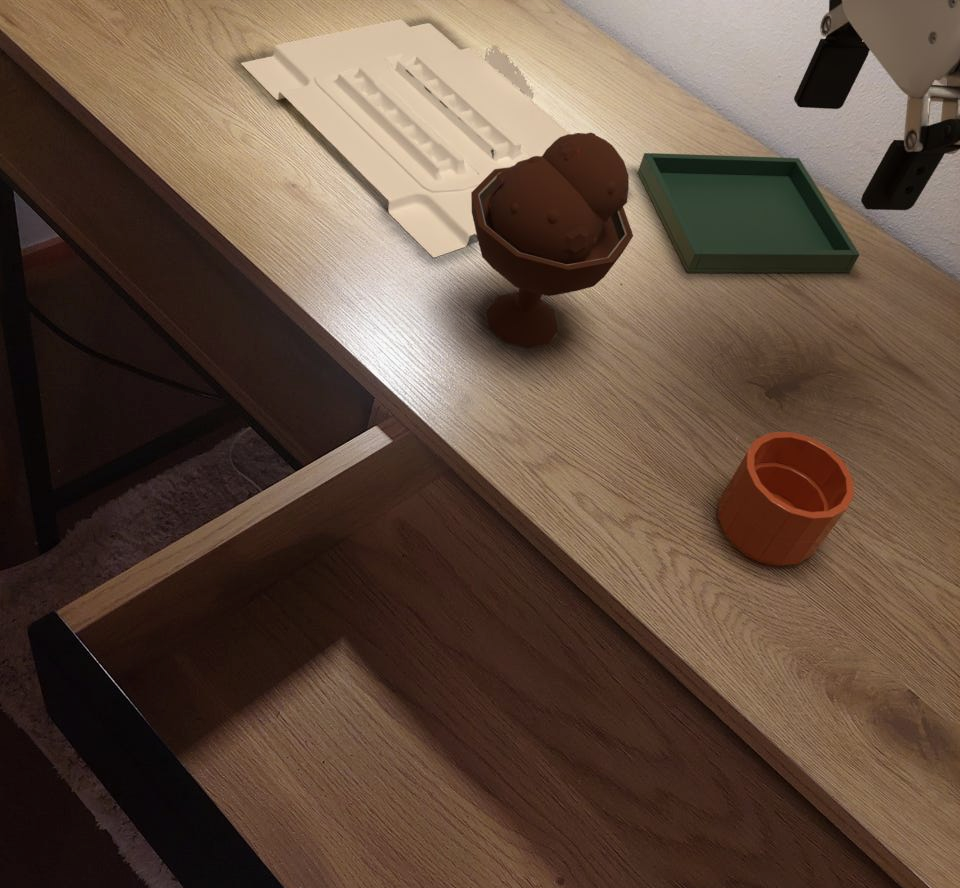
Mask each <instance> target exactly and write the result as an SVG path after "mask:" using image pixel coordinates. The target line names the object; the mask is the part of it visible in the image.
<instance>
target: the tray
mask: <svg viewBox="0 0 960 888" xmlns="http://www.w3.org/2000/svg"><path fill="white" fill-rule="evenodd" d="M500 49H501V48H500V47H499V46H498V45H497V44H495V45H494V44H493V45H491V47H490V48H486V49H485V55H484V57H483V53H481V55H480V54H479V53H478V52H477V51H476V50H475V49H473V47H466V48H462V49H460V48H459V47H458V46H456V45H455V43H453V42H452V41H450V40H449V38H447V37H446V36H445V35H444V34H443V33H442V32H441V31H439V30H438V29H437V28H436V27H435V26H433V24H432V23H430V22H426V23H422V24H418V25H413V26H409V24H407V23H406V22H405V21H404V20H403V19H401V18H399V19H394V20H390V21H384V22H380V23H375V24H371V25H366V26H365V25H364V26H361V27H360V26H359V27H356V28H351V29H346V30H342V31H337V32H336V31H335V32H331V33H327V34H321V35H317V36H313V37H306V38H303V39H298V40H293V41H287V42H283V43H279V44H275V46H274V48H273V53H272V55H271V56H267V57H262V58H257V59H253V60H248V61H244V62H240V64H241V66H243V68H244V69H246V71H247V72H249V74H251V76H253V77H254V79H255V80H256V81H257V82H258V83H259V84H260V85H261V86H262V87H263V88H264V89H265V90H266V91H267V92H268V93H269V94H270V95H271V96H272V97H273V98H274V99H275V100H276V101H278V100H283V99H287V101H288V102H289V103H290V104H291V105H292V106H293V107H294V108H295V109H296V110H297V111H298V112H299V113H300V114H302V116H303V117H304V118H305V119H306V120H307V121H308V122H309V123H310V125H313V126H314V128H315V129H316V130H317V131H318V132H320V134H321V135H322V136H323V137H324V138H325V139H326V140H327V141H328V142H330V144H331V145H332V146H334V148H335V149H336V150H337V151H338V152H339V153H340V154H342V156H343V157H344V158H345V159H346V160H347V161H348V162H349V163H350V164H351V165H352V166H353V167H355V169H356V170H357V171H358V172H359V173H360V174H361V175H362V176H363V177H364V178H365V179H366V180H367V181H368V182H369V183H370V184H371V185H372V186H373V187H374V188H375V189H376V190H377V191H378V192H380V194H381V195H382V196H384V197H385V199H386V200H388V207H387V208H388V209H387V210H388V213H389V215H390V216H391V217H392V218H393V219H394V220H395V221H396V222H397V223H398V224H399V226H401V228H403V230H405V231H406V232H407V233H408V234H409V235H410V236H411V237H412V238H413V239H414V240H415V241H416V242H417V243H418V244H419V245H420V246H421V247H422V248H423V249H424V250H425V251H426V252H427V253H428V254H429V255H430V256H431V257H432V258H437V257H440V256H443V255H446V254H447V253H452V252H454V251H458V250H460V249H464V248H466V247H467V246H468V244H469V240H470V237H471V236H473V235H477V234H476V229H475V225H474V220H473V216H472V202H471V192H472V191H473V190H474V189H475V188H476V187H477V186H478V185H479V184H480V183H481V182H482V181H483V180H484V179H485V178H486V177H487V176H488V175H489V174H490V173H491V172H492V171H493V170H494V169H500V168H507V167H511V166H514V165H515V164H516V163H517V162H520V161H523V160H526V159H530V158H531V157H534V156H543V154H544V153H545V151H546V150H547V148H549V147H550V146H551V145H552V144H553V143H554V141H556V140H557V139H558V138H560V137H562V136H565V135H568V134H571V133H570V132H569V131H568V130H567V129H565V127H563V126H562V125H561V124H560V122H559V123H558V121H557V120H555V119H554V118H553V117H552V116H551V115H550V114H548V113H547V112H546V111H545V110H544V109H543V108H541V106H539V105H538V104H537V103H535V102H534V100H533V98H534V92H532V91H533V89H532V88H533V87H532V86H531V85H529V84H528V83H527V79H526V77H525V76H524V73H523V72H522V71H521V70H520V68H519V67H518V65H515V63H514V61H512V62H511V60H510V58H509V57H508V56H509V54H506V53H505V52H501V51H500Z"/></svg>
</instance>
